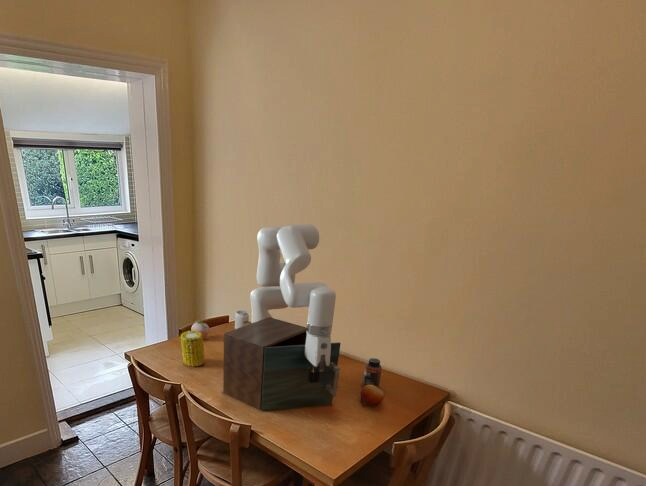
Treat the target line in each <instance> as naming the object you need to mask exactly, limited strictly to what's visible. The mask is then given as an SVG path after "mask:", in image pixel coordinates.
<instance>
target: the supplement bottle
mask: <svg viewBox="0 0 646 486" xmlns="http://www.w3.org/2000/svg"><path fill="white" fill-rule="evenodd" d="M380 364H381V360H380V359H378V358H376V357H375V358H374V357H373V358H369V359H368V363H366V364H365V366H364V373H363V379H362V388H363V387H364V386H365V385H374V386H377V387H378V388H379V386H380V381H381V375H382V370H383V367H382V366H381V365H380Z"/></svg>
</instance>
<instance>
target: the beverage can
mask: <svg viewBox="0 0 646 486" xmlns="http://www.w3.org/2000/svg"><path fill="white" fill-rule="evenodd" d="M249 318H250V316H249V312H248V311H246V310H238V311H237V310H236V313H235V315H234V330H235V329H238V328H240V327H243V326H246V325H249V320H250V319H249Z"/></svg>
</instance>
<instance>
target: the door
mask: <svg viewBox="0 0 646 486" xmlns="http://www.w3.org/2000/svg"><path fill="white" fill-rule="evenodd" d="M340 351H341V342H331V354H330V364H329V366H326V365H325V364H324V371H321V372H320V375H319V382H316V383H310V382H309V381H308V372H309V368H308V367H309V361H308V359H307V358H306V357H305V345H293V346H279V347H265V354H264V371H263V389H262V406H261V410H260V411H261V412H265V411H276V410H287V409H298V408H299V409H300V408H309V407H319V406H320V407H321V406H329V405H333V400H334V397H336V396H337V391H338V386H339V377H340V369H341V368H340V367H339V366H338V365H339V356H340Z"/></svg>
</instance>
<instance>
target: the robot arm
mask: <svg viewBox="0 0 646 486" xmlns="http://www.w3.org/2000/svg"><path fill="white" fill-rule="evenodd" d="M256 241H257V248H258V259H257V260H258V262H257V268H256V283H257V285H258V286H259V287H256V288H254V289H253V290H251V292H250V296H249V301H250V309H251V311H250V312H251V319H250V320H251V322H250V324H252V323H254V322H257V321H260V320H263V319H266V318H269V317H271V318H274V317H273V316H272V314H271V313H270V311H271V310H281V309H287V308H288V307H290V308H297V309H299V308H307V307H308V311H307V313H308V314H307V323H306V327H307V331H306V333H307V337H306V343H305V357H306V358H307V359H308V361H309V367H308V368H309V372H308V381H309V382H310V383H316V382H319V375H320V372H321V371H324V364H325V365H326V366H329V364H330V354H331V343H332V337H331V335H332V331H333V324H334V323H333V322H334V315H335V307H336V299H337V293H336V291H335V290H334V289H332V288H330V287H329V286H328V285H327V284H326V283H324V282H322V281H321V282H320V281H318V282H317V281H316V282H297V283H296V275H297V274H299V273H300V272H302V271H304V270H306V269H307V268H308V267H309V265H310V264H311V262H312V255H311V253H310V251H309V250H314V249H316V248H317V247H318V245H319V243H320V232H319V230H318V228H317V227H316V226H315V225H313V224H288V225H285V226H284V225H283V226H266V227H262V228H260V229H259V231H258V233H257V237H256ZM281 255H282V256H281ZM281 257H283V261H284V262H281Z"/></svg>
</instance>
